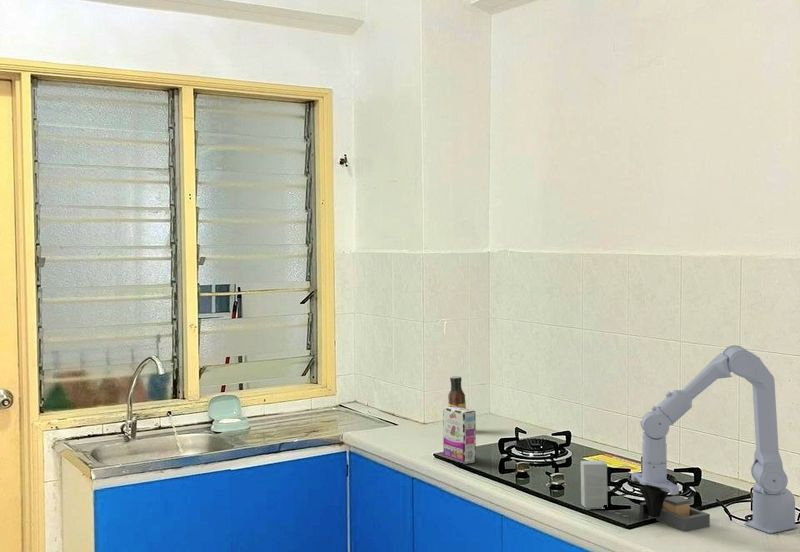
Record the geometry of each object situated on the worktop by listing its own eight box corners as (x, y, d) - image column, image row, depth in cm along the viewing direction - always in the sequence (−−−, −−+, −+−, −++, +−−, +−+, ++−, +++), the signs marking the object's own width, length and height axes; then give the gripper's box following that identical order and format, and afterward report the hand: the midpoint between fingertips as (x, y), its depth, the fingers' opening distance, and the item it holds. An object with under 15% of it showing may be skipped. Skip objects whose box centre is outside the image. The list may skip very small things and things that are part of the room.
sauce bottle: (467, 429, 326) (466, 375, 325) (466, 433, 320) (466, 378, 319) (449, 429, 327) (448, 375, 326) (448, 433, 321) (447, 378, 320)
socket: (681, 512, 227) (681, 500, 227) (715, 525, 217) (715, 513, 217) (650, 518, 223) (650, 506, 223) (684, 531, 213) (684, 519, 212)
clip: (681, 510, 227) (681, 495, 227) (685, 512, 225) (685, 496, 225) (639, 519, 221) (639, 503, 221) (643, 520, 219) (643, 504, 219)
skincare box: (603, 505, 234) (603, 459, 234) (607, 510, 230) (607, 464, 229) (580, 505, 234) (580, 460, 233) (584, 510, 230) (584, 464, 229)
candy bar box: (476, 462, 279) (476, 410, 278) (464, 465, 276) (463, 412, 275) (455, 455, 288) (454, 405, 288) (442, 458, 286) (442, 407, 285)
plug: (676, 517, 224) (676, 495, 223) (689, 522, 220) (689, 500, 219) (663, 520, 222) (663, 498, 221) (675, 525, 218) (675, 502, 217)
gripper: (621, 457, 223) (621, 510, 224) (662, 470, 210) (662, 527, 211) (643, 453, 226) (643, 506, 227) (685, 466, 213) (685, 522, 214)
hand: (654, 516), depth 219 cm, fingers closed
